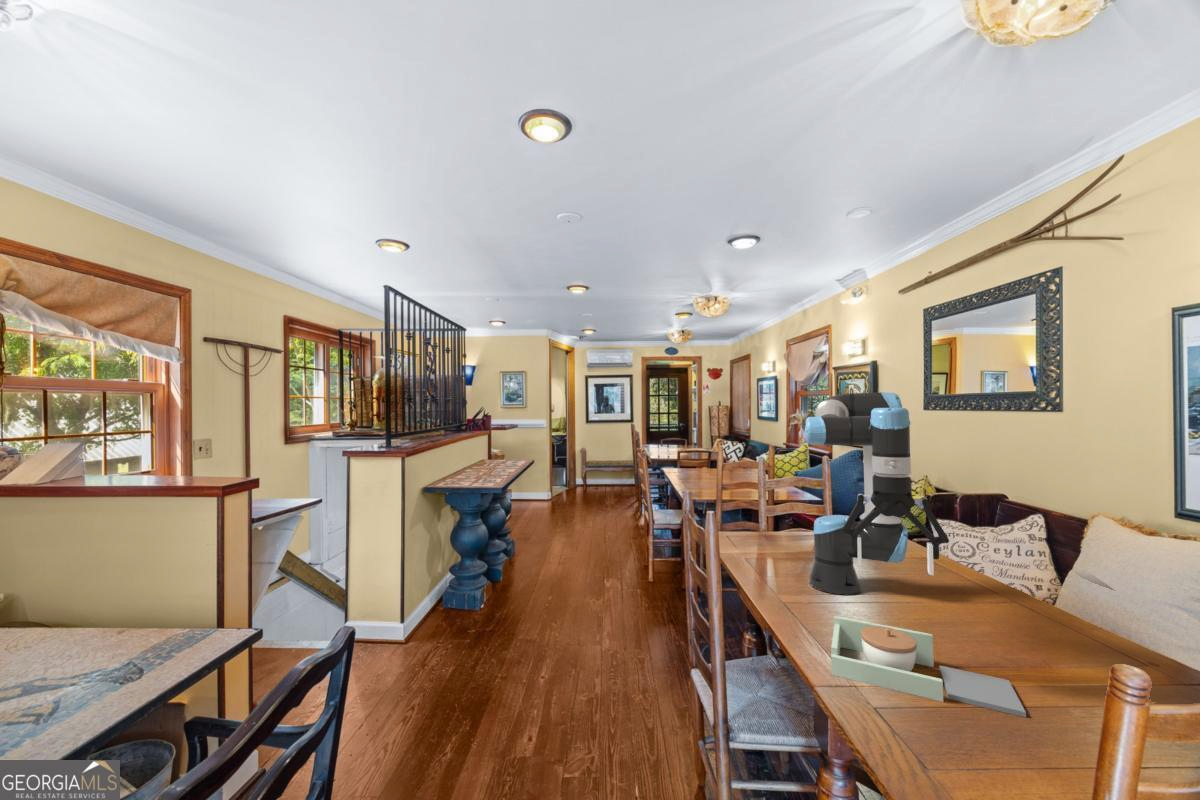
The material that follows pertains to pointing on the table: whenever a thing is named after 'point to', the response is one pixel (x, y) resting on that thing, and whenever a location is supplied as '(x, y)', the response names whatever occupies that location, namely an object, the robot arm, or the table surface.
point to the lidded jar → (889, 647)
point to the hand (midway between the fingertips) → (894, 569)
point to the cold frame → (883, 676)
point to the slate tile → (981, 691)
